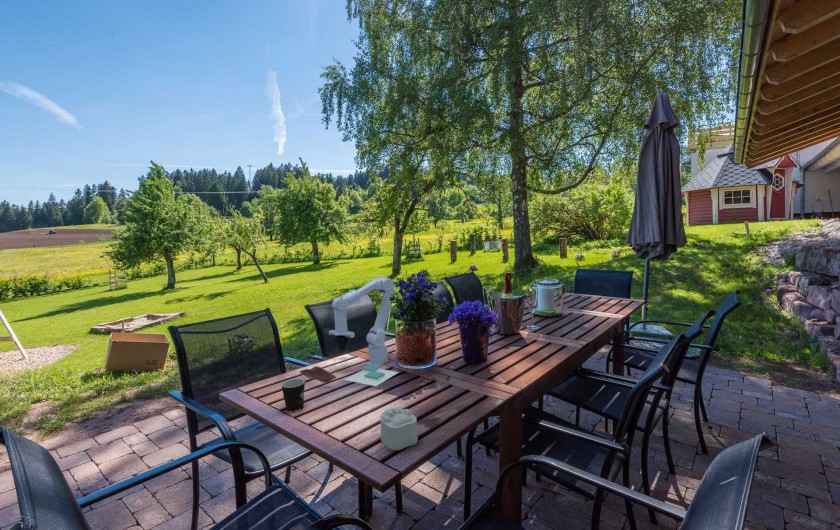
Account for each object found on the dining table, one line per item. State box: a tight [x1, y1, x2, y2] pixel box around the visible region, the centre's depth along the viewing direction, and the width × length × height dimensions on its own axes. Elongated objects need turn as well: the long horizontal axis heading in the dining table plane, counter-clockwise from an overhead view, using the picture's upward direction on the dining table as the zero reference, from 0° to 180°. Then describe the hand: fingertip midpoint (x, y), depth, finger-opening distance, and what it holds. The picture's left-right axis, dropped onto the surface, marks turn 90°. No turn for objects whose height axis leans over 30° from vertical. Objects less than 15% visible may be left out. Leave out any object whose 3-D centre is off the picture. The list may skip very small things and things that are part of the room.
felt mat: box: [343, 368, 399, 387], centre depth 179 cm, size 18×18×1 cm
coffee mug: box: [281, 378, 306, 412], centre depth 151 cm, size 12×9×10 cm
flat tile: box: [360, 364, 382, 372], centre depth 187 cm, size 6×7×2 cm
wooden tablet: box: [299, 365, 337, 384], centre depth 183 cm, size 26×2×10 cm
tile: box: [364, 371, 385, 381], centre depth 177 cm, size 6×2×7 cm
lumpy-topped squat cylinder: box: [379, 407, 419, 451], centre depth 125 cm, size 10×13×9 cm
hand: (342, 350), depth 187 cm, fingers closed
